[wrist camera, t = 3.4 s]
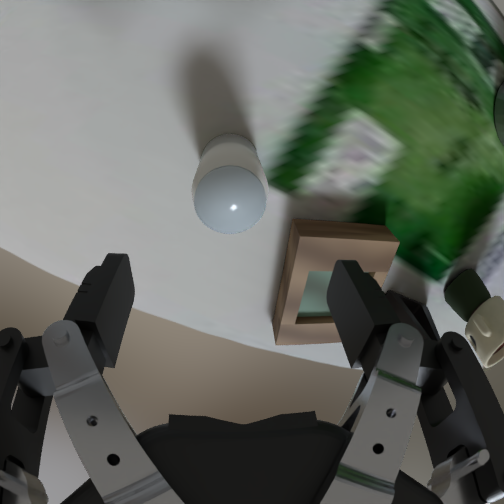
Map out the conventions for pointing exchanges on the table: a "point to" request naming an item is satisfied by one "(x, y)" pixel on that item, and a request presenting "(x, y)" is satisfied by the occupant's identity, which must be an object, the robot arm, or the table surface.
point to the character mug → (479, 315)
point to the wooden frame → (324, 274)
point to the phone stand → (414, 315)
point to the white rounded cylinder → (229, 185)
